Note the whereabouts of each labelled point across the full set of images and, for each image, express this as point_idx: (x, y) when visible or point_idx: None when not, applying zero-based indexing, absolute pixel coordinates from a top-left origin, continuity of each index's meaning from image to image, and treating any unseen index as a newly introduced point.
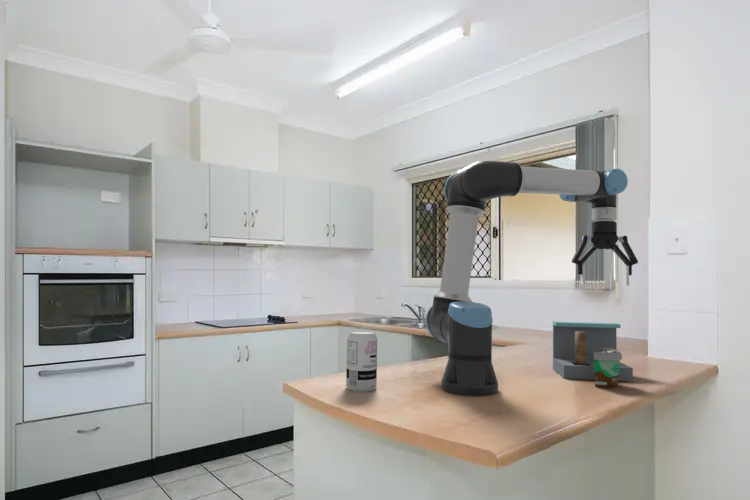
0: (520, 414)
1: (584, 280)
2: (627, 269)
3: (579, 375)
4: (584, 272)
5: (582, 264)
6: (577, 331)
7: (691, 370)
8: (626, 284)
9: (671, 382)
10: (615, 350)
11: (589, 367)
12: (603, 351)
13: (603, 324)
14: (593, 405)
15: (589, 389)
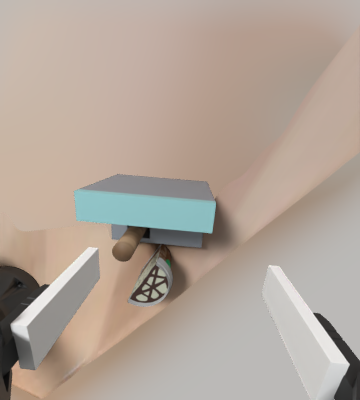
0: (57, 349)
1: (87, 290)
2: (304, 374)
3: None
4: (63, 323)
5: (14, 363)
6: (118, 246)
7: (353, 145)
8: (263, 297)
9: (249, 238)
10: (167, 279)
11: (145, 241)
12: (153, 271)
13: (176, 229)
14: (117, 328)
15: (132, 279)
